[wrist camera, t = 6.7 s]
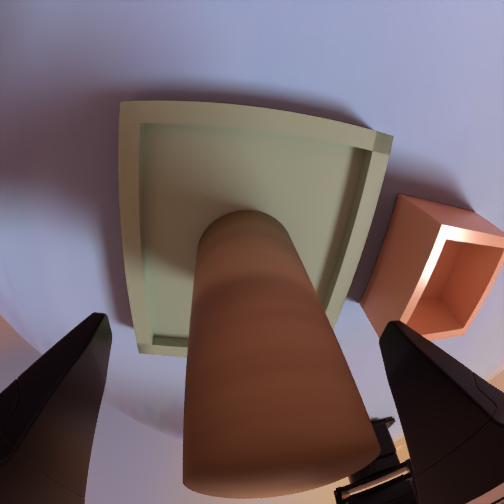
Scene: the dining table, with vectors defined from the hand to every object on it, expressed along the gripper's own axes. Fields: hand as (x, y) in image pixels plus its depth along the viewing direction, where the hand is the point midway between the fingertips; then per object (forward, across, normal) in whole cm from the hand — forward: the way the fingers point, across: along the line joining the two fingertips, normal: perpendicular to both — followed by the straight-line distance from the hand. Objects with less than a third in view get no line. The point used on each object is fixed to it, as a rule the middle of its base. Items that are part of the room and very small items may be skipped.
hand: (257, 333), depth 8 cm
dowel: (+4, 0, 0) cm, 5 cm away
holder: (+6, -10, 0) cm, 12 cm away
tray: (+6, 0, 0) cm, 6 cm away
